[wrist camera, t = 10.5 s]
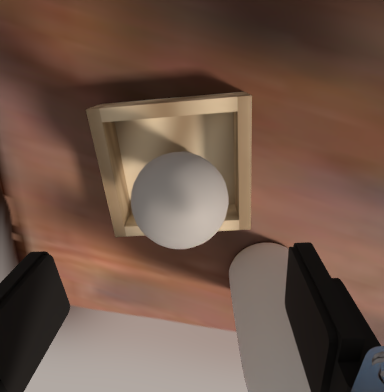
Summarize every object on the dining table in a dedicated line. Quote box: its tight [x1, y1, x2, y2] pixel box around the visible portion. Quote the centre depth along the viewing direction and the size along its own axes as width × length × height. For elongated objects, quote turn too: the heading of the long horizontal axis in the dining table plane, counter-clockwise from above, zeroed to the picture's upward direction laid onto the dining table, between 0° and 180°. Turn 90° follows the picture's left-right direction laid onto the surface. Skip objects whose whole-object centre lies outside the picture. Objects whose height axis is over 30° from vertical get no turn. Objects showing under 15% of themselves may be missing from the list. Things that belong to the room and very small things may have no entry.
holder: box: [86, 92, 252, 237], centre depth 24 cm, size 12×11×4 cm
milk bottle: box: [229, 242, 311, 392], centre depth 21 cm, size 8×8×20 cm
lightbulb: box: [131, 151, 229, 249], centre depth 20 cm, size 6×6×11 cm
